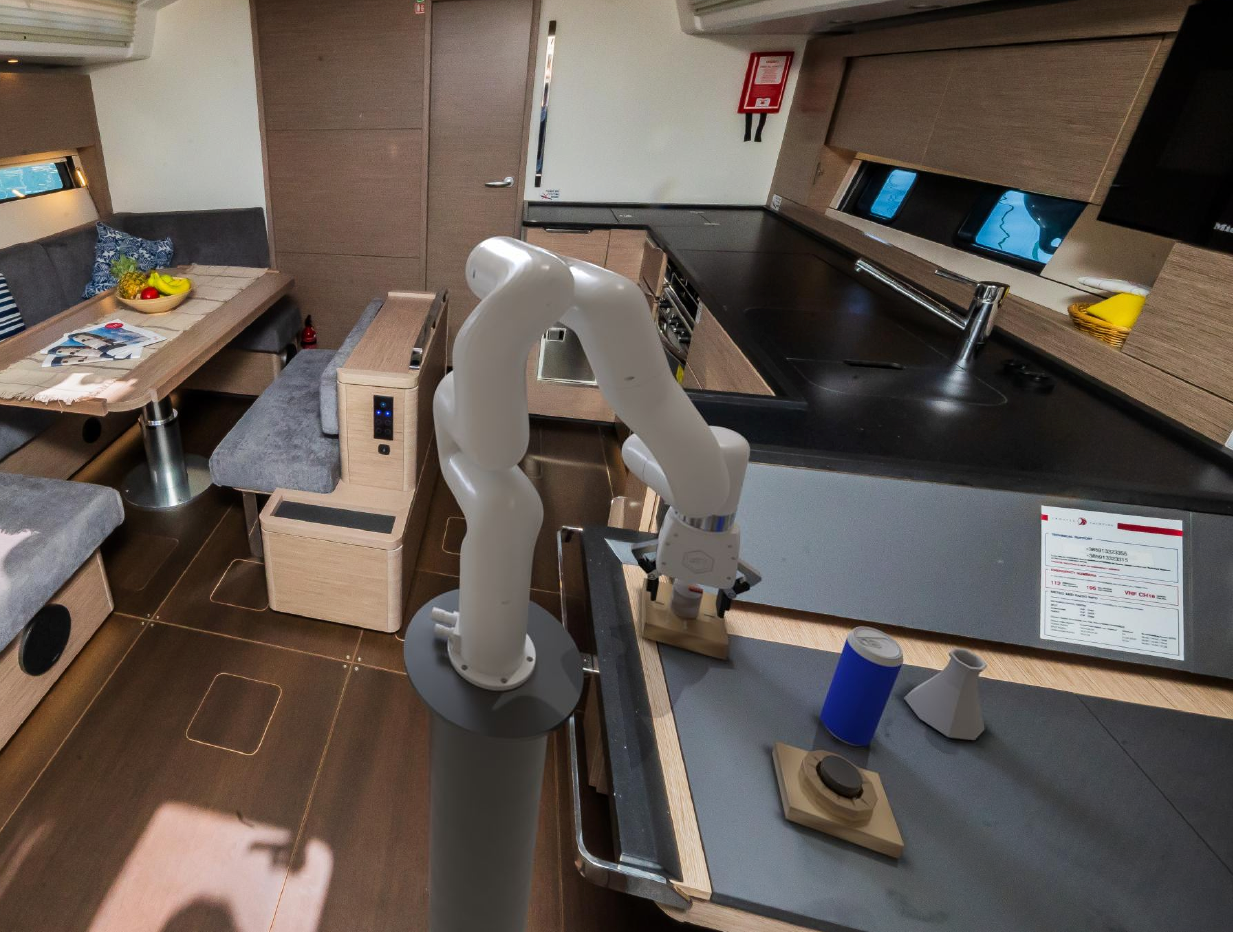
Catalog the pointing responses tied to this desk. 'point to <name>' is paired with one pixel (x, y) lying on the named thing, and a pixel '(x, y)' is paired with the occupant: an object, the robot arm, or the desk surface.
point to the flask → (952, 697)
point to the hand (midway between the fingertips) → (685, 602)
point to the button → (840, 776)
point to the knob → (686, 599)
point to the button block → (835, 802)
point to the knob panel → (684, 624)
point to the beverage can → (861, 685)
